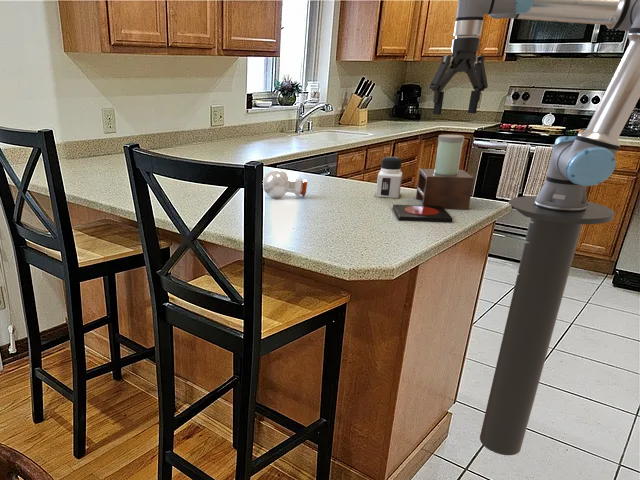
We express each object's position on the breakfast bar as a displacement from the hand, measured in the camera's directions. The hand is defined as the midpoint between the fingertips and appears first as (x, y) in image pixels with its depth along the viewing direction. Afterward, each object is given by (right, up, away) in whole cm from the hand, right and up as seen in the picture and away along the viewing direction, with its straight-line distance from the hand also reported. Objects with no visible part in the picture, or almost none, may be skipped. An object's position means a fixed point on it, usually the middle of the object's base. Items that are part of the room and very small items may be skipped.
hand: (454, 113), depth 163 cm
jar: (0, -17, +6) cm, 18 cm away
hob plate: (-11, -32, -3) cm, 34 cm away
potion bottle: (-51, -22, +19) cm, 59 cm away
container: (-15, -21, +22) cm, 34 cm away
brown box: (0, -26, +10) cm, 28 cm away
